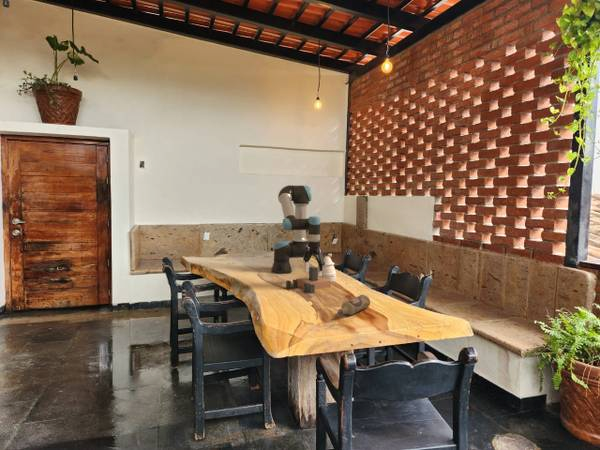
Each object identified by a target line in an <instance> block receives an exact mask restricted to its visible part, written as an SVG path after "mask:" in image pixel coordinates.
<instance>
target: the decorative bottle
mask: <svg viewBox="0 0 600 450" xmlns="http://www.w3.org/2000/svg"><path fill="white" fill-rule="evenodd" d="M370 306H371V300H370V298H369V297H368V296H367V295H366V294H365V295H364V294H360V295H358V296H356V297H353V298H352V299H349V300H347V301H345V302H343V303H342V304H341V308H339V309H338V311H337V314H338V315H341V316H342V315H343V316H345V315H347V316H352V315H354V314H356V313H358V312H360V311H362V310H365V309H367V308H368V307H370Z"/></svg>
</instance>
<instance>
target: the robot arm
mask: <svg viewBox="0 0 600 450" xmlns="http://www.w3.org/2000/svg"><path fill="white" fill-rule="evenodd" d="M277 196H278V197H277V198H278V202H279V203H280V206H281V209H282V213H283V219H282V230H284V231H294V237H293V239H292V240H291V242H290V240H289V239H288V240H278V241H276V242H274V244H273V264H272V266H271V269H270V272H271V273H273V274H279V275H285V274H291V273H292V271H293V269H292V267H291V263H290V259H294V258H295V259H298V258H300V259H301V258H302V261H304V266H305V267H304V272H305V273H309V267H310V260H311V258H312V256H314V257H315V259H316V261H317V264H318V265H317V268H318V276H322V266H323V265H325V262H324V259H323V258H324V255H323V250H322V249H319V248H320V246H321V223H322V222H321V217H320V216H315V215H314V216H313V215H312V216H308V218H307V211H308V210H307V208H308V205H310V204H309V203H310V202H311V201H312V191H311V188H310V186H309V185H295V184H294V185H293V184H292V185H291V184H290V185H285V186H283V187H282V188H281V189H280V191H279V192H278V195H277ZM293 205H294V206H293ZM307 232H308V233H307ZM307 236H308V237H307Z"/></svg>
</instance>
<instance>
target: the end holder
mask: <svg viewBox="0 0 600 450" xmlns="http://www.w3.org/2000/svg"><path fill="white" fill-rule="evenodd" d="M295 280H298V286H299V287H301V288H303V289H304V283H310V285H312V284H314V285H315V290H320V289H327V288H331V287H332V282H331V281H330V280H327V279H324V278H321V277H318V280H317V281H310V280H309V276H307V277H299V278H298V277H297V278H295Z"/></svg>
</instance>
